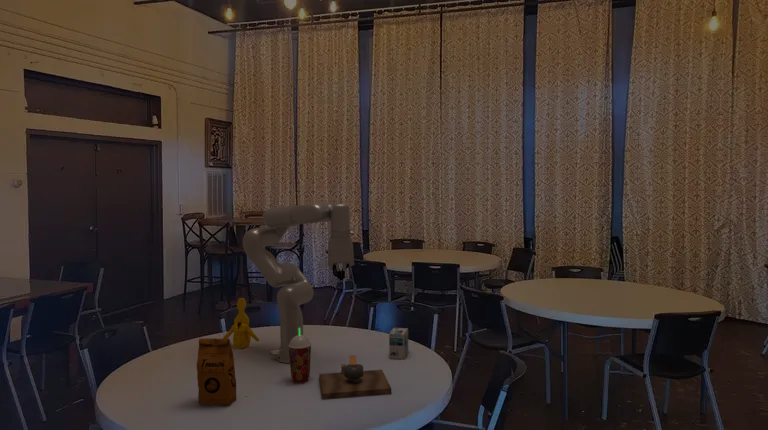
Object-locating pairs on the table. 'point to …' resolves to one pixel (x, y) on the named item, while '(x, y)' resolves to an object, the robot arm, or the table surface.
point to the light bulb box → (398, 343)
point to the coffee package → (216, 372)
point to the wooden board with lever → (353, 384)
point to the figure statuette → (241, 328)
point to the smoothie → (300, 358)
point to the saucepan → (353, 369)
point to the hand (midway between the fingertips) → (341, 280)
